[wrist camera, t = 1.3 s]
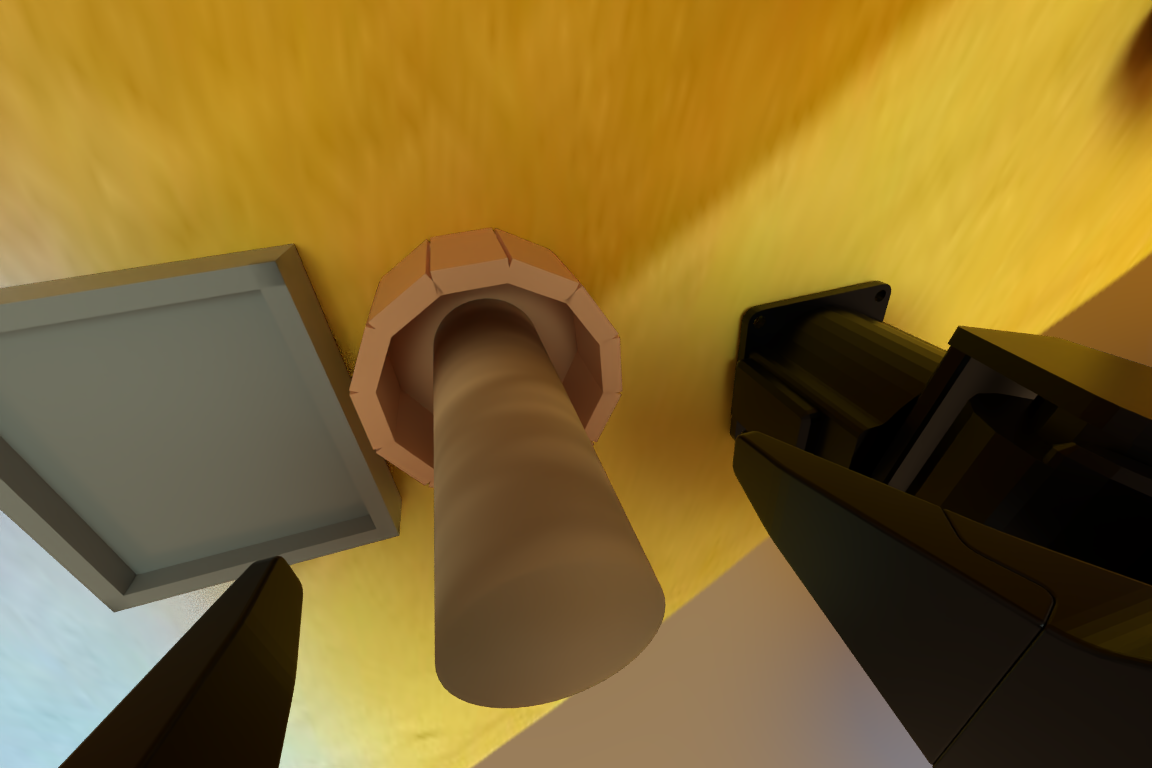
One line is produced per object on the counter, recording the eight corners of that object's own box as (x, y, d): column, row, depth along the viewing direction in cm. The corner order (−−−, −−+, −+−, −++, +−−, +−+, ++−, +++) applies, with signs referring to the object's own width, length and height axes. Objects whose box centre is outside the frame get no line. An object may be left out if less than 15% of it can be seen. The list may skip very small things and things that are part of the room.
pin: (530, 289, 14) (666, 530, 6) (544, 380, 16) (664, 662, 8) (420, 309, 14) (402, 608, 5) (447, 402, 15) (465, 732, 7)
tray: (294, 243, 12) (275, 261, 11) (401, 500, 18) (399, 535, 16) (-107, 304, 11) (-193, 334, 9) (143, 566, 16) (113, 612, 15)
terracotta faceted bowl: (577, 214, 14) (615, 239, 11) (594, 403, 18) (625, 459, 15) (333, 252, 13) (305, 292, 10) (407, 447, 17) (402, 517, 14)
